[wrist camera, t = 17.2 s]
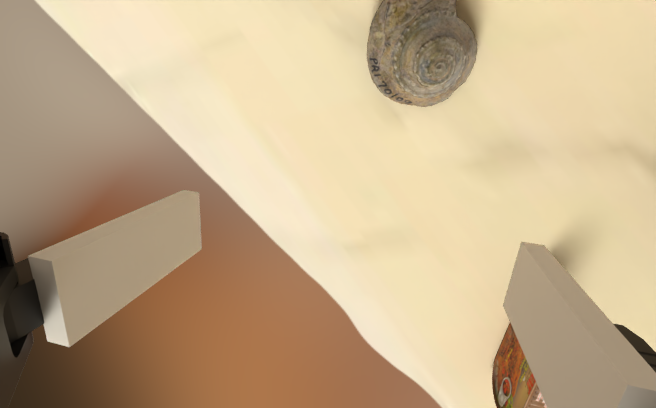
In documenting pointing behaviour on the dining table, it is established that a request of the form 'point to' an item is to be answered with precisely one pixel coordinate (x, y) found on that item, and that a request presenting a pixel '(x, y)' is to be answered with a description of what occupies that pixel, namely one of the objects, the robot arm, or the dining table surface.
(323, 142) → the dining table surface
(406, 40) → the fossilized seashell
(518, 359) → the tin
